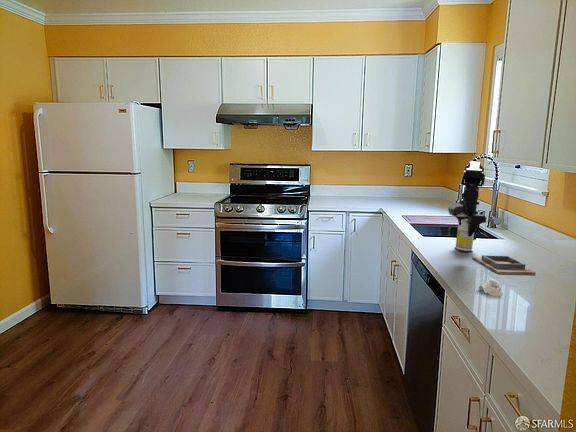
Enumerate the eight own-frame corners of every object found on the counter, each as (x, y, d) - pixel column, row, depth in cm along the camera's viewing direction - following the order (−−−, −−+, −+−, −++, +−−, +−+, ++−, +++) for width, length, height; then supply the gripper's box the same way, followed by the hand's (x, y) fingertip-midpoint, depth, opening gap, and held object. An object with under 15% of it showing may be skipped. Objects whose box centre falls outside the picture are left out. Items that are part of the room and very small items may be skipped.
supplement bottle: (458, 245, 178) (461, 217, 175) (473, 249, 174) (477, 220, 171) (453, 248, 173) (456, 219, 170) (469, 252, 168) (473, 222, 166)
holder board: (472, 258, 181) (473, 252, 180) (506, 259, 182) (507, 253, 181) (497, 273, 161) (498, 266, 161) (535, 274, 162) (536, 267, 162)
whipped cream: (493, 291, 145) (495, 278, 145) (508, 296, 139) (510, 283, 138) (475, 291, 143) (477, 277, 142) (489, 296, 136) (491, 282, 136)
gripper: (442, 194, 177) (438, 228, 180) (462, 201, 159) (457, 239, 162) (466, 195, 178) (462, 229, 181) (489, 202, 160) (484, 240, 163)
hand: (465, 234), depth 172 cm, fingers closed on supplement bottle, 7 cm apart
